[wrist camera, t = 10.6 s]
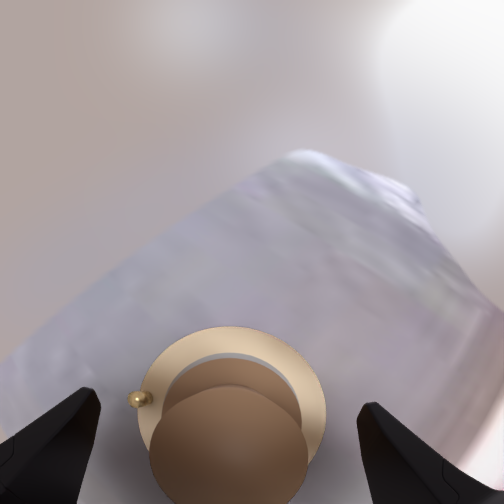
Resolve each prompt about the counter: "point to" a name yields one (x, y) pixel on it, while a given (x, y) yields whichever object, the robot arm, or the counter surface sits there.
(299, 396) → the plate
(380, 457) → the robot arm
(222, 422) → the brown flanged knob
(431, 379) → the counter surface
